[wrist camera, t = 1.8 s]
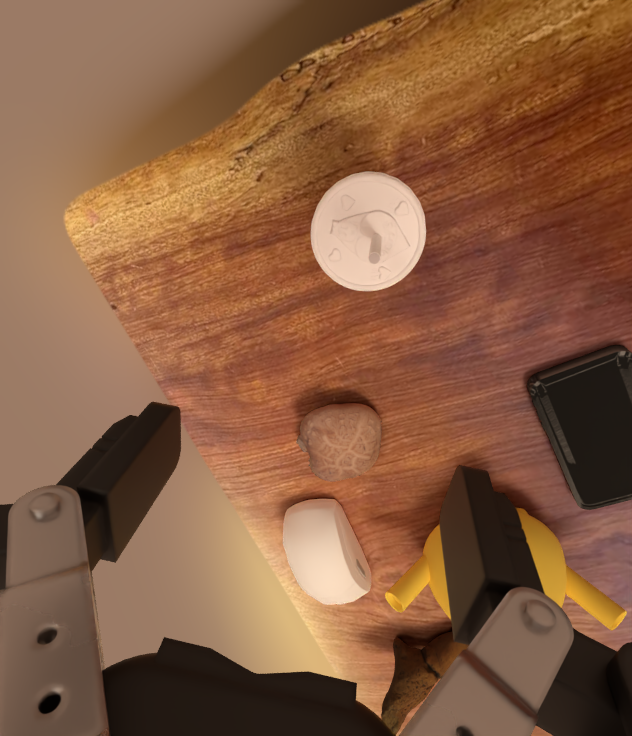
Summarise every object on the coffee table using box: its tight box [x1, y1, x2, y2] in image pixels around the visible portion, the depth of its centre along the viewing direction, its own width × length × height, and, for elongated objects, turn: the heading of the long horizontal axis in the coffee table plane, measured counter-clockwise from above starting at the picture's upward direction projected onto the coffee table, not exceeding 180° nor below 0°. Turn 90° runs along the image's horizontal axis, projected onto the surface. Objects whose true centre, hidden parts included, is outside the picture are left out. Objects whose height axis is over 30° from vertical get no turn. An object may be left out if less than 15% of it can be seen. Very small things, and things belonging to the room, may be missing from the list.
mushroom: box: [297, 403, 382, 481], centre depth 41 cm, size 8×6×8 cm
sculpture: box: [381, 632, 469, 735], centre depth 51 cm, size 8×10×15 cm
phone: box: [527, 345, 632, 510], centre depth 38 cm, size 8×1×15 cm
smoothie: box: [311, 171, 426, 291], centre depth 27 cm, size 6×6×14 cm
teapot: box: [385, 508, 627, 630], centre depth 41 cm, size 20×18×11 cm
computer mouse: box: [283, 499, 371, 605], centre depth 47 cm, size 6×13×6 cm, turn 22°
